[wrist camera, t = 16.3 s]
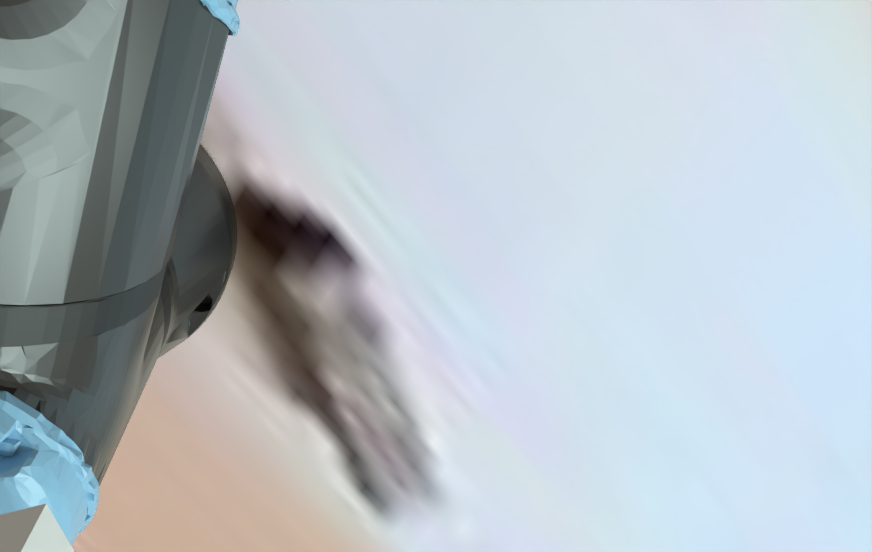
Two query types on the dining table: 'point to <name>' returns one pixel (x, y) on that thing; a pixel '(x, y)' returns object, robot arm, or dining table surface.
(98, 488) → the robot arm
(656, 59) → the dining table surface
